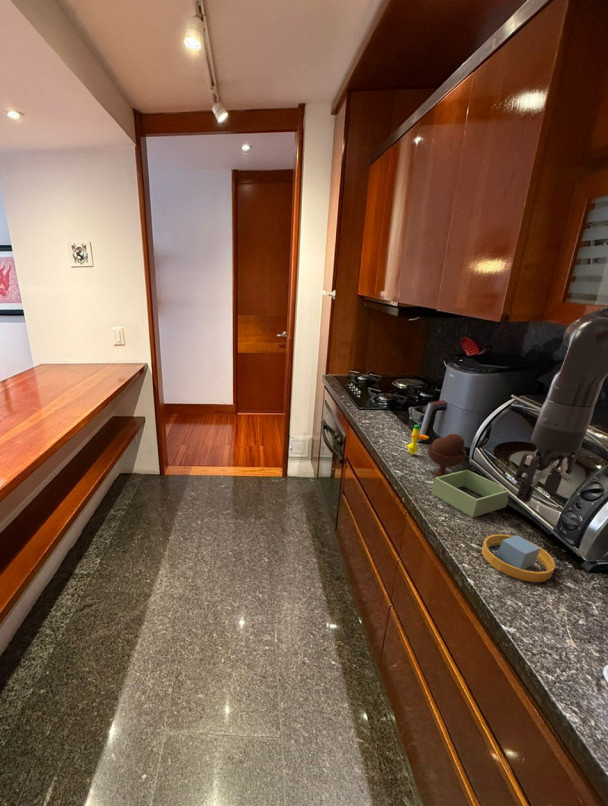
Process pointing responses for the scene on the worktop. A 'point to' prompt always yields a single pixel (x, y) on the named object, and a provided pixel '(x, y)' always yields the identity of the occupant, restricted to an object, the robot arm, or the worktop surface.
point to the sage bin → (471, 506)
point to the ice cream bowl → (447, 452)
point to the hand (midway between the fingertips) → (536, 495)
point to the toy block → (518, 552)
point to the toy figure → (415, 439)
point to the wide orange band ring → (514, 571)
